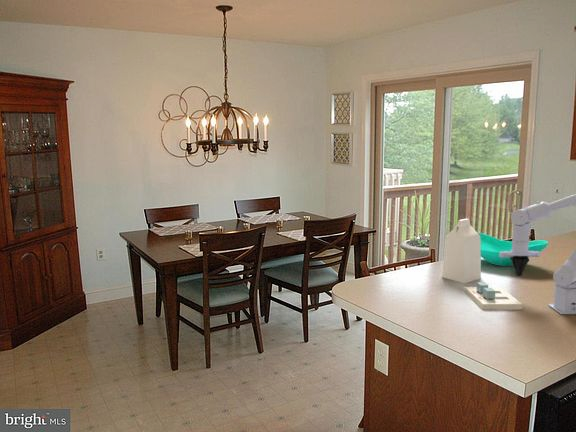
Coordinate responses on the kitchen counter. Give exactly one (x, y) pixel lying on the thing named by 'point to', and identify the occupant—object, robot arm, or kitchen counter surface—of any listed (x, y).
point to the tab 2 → (489, 293)
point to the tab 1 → (481, 286)
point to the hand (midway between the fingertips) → (518, 275)
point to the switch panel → (500, 301)
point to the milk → (462, 253)
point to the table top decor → (503, 249)
